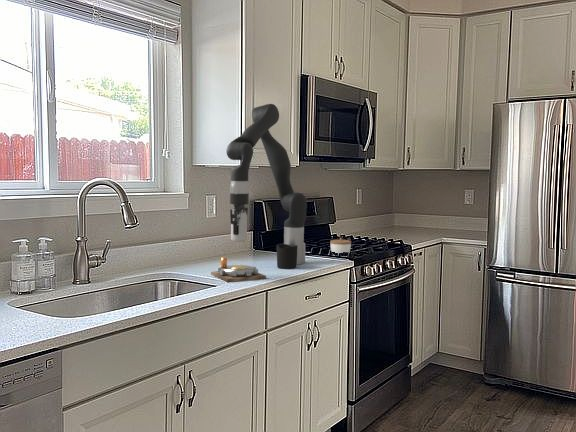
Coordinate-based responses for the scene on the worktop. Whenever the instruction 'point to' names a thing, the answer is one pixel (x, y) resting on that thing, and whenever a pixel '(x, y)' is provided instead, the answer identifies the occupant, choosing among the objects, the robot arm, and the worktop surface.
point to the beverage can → (240, 229)
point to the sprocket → (236, 269)
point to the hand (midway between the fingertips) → (238, 233)
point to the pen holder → (286, 256)
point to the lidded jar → (340, 246)
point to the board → (237, 277)
